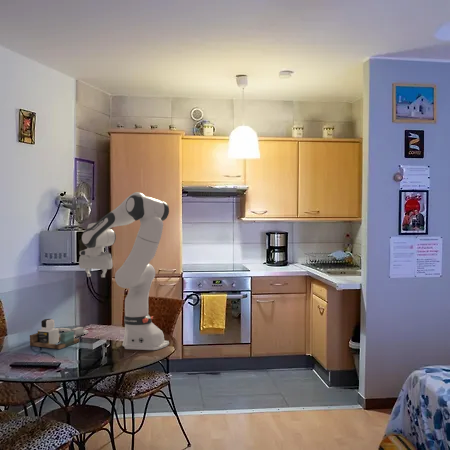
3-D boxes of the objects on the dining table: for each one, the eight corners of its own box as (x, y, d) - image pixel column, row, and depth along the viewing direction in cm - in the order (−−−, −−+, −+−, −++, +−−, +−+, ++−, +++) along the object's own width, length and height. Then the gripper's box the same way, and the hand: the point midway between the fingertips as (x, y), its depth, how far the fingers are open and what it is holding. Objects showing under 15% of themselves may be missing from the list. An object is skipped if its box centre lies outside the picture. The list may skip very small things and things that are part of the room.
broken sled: (88, 333, 252) (88, 325, 252) (70, 339, 239) (70, 331, 239) (60, 330, 259) (60, 323, 259) (42, 336, 247) (41, 328, 247)
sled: (79, 341, 234) (79, 329, 234) (59, 349, 222) (59, 336, 222) (50, 338, 242) (50, 327, 241) (29, 345, 229) (29, 333, 229)
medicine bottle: (37, 344, 231) (36, 320, 231) (48, 341, 237) (47, 317, 237) (48, 346, 228) (48, 321, 228) (59, 342, 235) (58, 318, 234)
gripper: (114, 251, 258) (115, 276, 258) (84, 251, 266) (85, 275, 266) (107, 252, 252) (108, 278, 252) (77, 251, 260) (77, 277, 260)
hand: (96, 276), depth 259 cm, fingers open, 8 cm apart
